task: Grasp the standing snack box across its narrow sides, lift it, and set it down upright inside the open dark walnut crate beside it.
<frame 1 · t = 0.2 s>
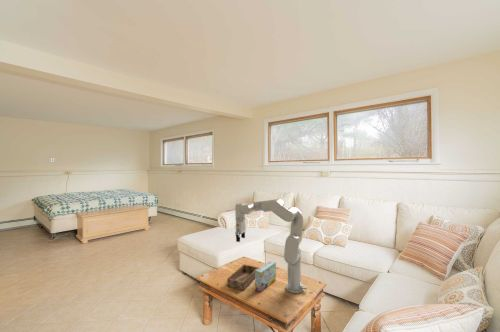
hand: (240, 239, 191), 31 cm above the table, tool pointing down, fingers open, 9 cm apart
walnut crate: (243, 280, 186), on the table
snack box: (266, 285, 178), on the table
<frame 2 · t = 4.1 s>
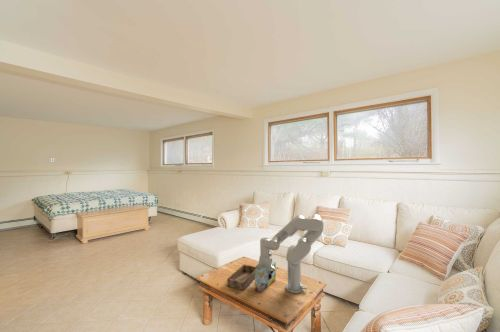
hand: (265, 277, 178), 6 cm above the table, tool pointing down, fingers closed on snack box, 6 cm apart
snack box: (266, 285, 178), on the table, touching gripper
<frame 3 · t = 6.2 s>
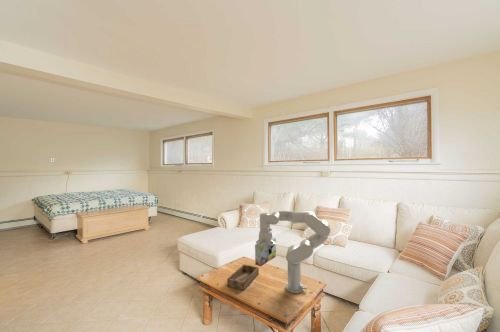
hand: (265, 252, 177), 25 cm above the table, tool pointing down, fingers closed on snack box, 6 cm apart
snack box: (266, 261, 178), point 19 cm above the table, touching gripper
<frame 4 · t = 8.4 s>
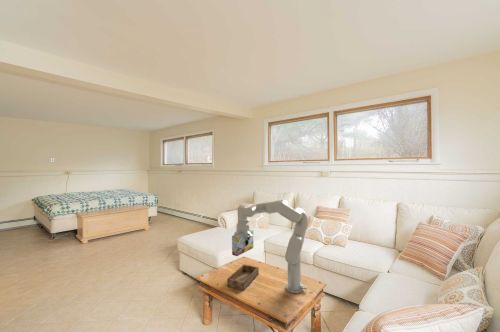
hand: (243, 244, 186), 29 cm above the table, tool pointing down, fingers closed on snack box, 6 cm apart
snack box: (243, 251, 186), point 23 cm above the table, touching gripper
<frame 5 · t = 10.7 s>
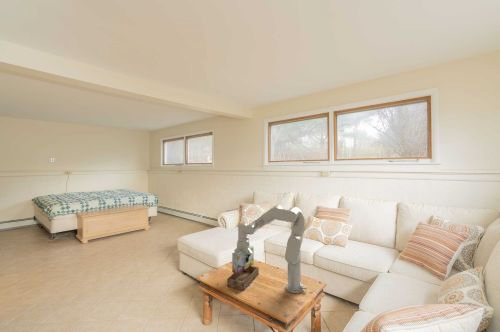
hand: (243, 260, 186), 16 cm above the table, tool pointing down, fingers closed on snack box, 6 cm apart
snack box: (243, 268, 186), point 10 cm above the table, touching gripper
when the fingers open (8 cm above the table, at t = 12.8 s): snack box drops 1 cm, resting on walnut crate.
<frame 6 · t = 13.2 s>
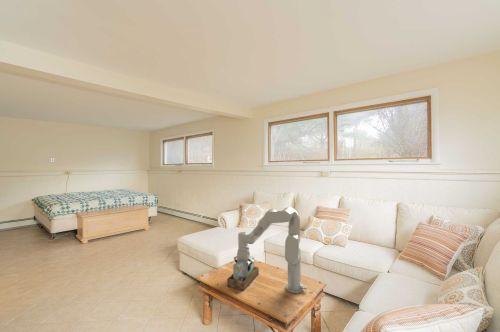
hand: (243, 269, 186), 9 cm above the table, tool pointing down, fingers open, 9 cm apart
snack box: (244, 279, 186), point 1 cm above the table, touching walnut crate
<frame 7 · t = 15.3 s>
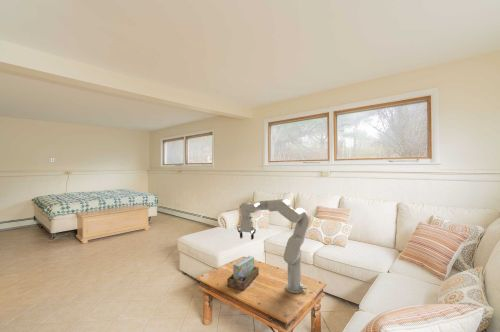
hand: (246, 238, 190), 32 cm above the table, tool pointing down, fingers open, 9 cm apart
nothing on the table moved.
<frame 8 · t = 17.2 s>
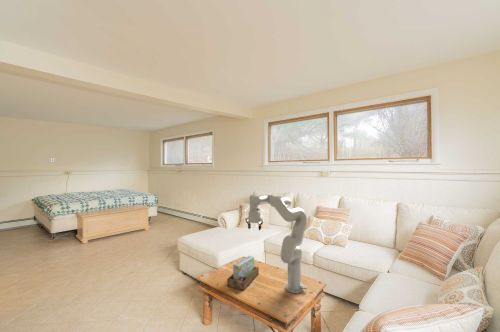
hand: (254, 229, 201), 36 cm above the table, tool pointing down, fingers open, 9 cm apart
nothing on the table moved.
at the end: snack box inside the target area on the walnut crate (0.4 cm from its centre), point 0.8 cm above the walnut crate's base; snack box tilted 0°; the gripper is holding nothing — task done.
